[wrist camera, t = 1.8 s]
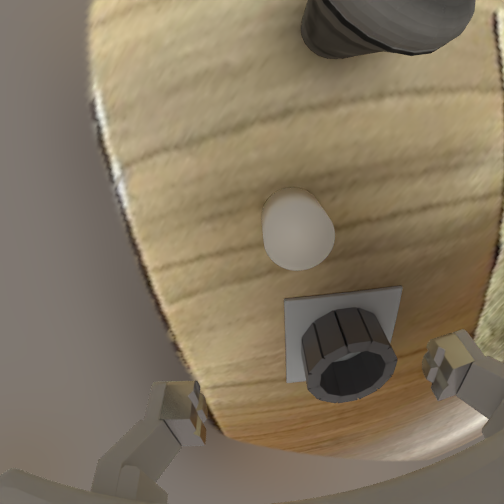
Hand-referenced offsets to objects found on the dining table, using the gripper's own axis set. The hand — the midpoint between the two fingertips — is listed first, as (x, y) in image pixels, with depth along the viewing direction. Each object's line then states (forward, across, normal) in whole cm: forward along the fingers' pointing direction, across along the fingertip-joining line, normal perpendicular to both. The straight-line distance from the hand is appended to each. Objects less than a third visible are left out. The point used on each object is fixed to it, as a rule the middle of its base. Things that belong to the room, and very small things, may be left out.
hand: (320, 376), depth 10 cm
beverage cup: (+17, +6, +14) cm, 23 cm away
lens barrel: (+17, +6, -15) cm, 23 cm away
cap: (+17, +2, -1) cm, 17 cm away
